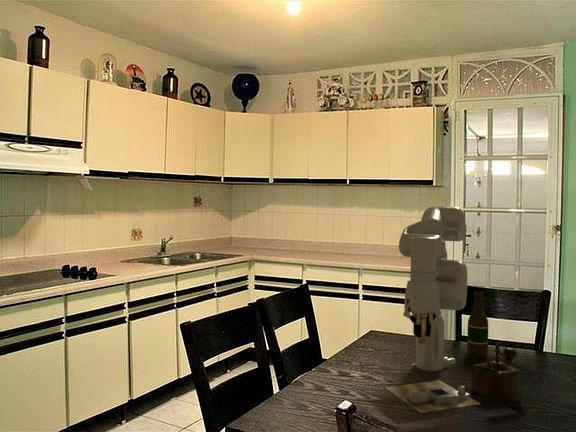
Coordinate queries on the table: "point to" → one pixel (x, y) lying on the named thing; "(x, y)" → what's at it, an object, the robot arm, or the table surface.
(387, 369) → the table surface
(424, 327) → the brass pin
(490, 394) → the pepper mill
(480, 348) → the beer bottle
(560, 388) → the table surface
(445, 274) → the robot arm
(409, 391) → the maple board
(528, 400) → the table surface
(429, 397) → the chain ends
